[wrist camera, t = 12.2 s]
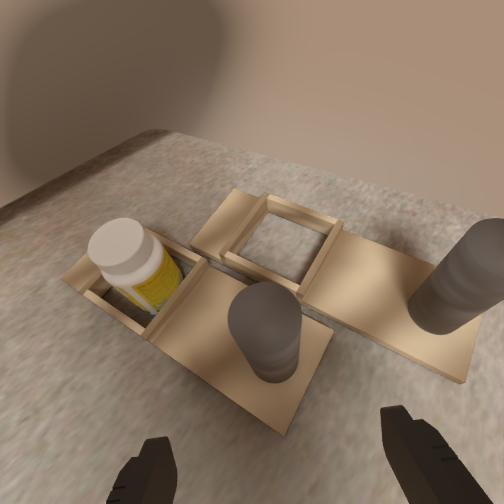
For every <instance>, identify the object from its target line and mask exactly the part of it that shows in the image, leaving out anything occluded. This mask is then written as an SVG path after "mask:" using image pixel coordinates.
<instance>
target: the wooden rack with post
mask: <svg viewBox="0 0 504 504" xmlns="http://www.w3.org/2000/svg"><path fill="white" fill-rule="evenodd" d="M144 229H145V230H146V231H147V232H148V233H149V234H152V235H153V236H155V237H156V238H157V239H158V240H159V241H160V242H161V243H162V245H163V246H164V248H165V249H166V251H167V252H168V254H170V255H172V256H173V257H175V258H177V259H179V260H181V261H183V262H185V263H187V264H188V265H190V266H192V267H193V268H192V270H191V271H190V272H189V274H188V275H187V276H186V277H185V279H184V280H183V281H182V283H181V284H180V285H179V286H178V288H177V289H176V290H175V291H174V293H173V294H172V295H171V297H170V298H169V299H168V300H167V302H166V303H165V304H164V306H163V307H162V308H161V309H160V311H159V312H158V313H157V315H156V316H155V317H154V318H153V320H152V321H151V322H150V324H149V325H148V326H147V327H146V329H145V328H144V327H142V326H141V325H139V324H138V323H136V322H135V321H133V320H132V319H131V318H129V317H128V316H126V315H125V314H123V313H122V312H120V311H119V310H117V309H116V308H115V307H113V306H112V305H110V304H109V303H107V302H106V301H104V300H103V299H101V297H102V296H103V295H104V294H105V293H106V292H107V291H108V289H109V288H110V287H111V286H112V285H110V284H109V283H108V282H107V281H106V280H105V279H104V277H103V275H102V273H101V269H100V268H99V267H98V266H97V265H96V264H94V263H93V262H92V261H91V259H90V258H89V255H88V251H87V252H86V253H85V254H84V255H83V256H82V257H81V258H80V259H79V260H78V261H77V262H76V263H75V264H74V265H73V266H72V267H71V268H70V269H69V270H68V271H67V272H66V273H65V274H64V275H63V276H62V277H61V278H60V279H62V280H63V281H64V282H66V283H67V284H69V285H70V286H71V287H73V288H74V289H76V290H77V291H78V292H79V293H81V294H82V295H84V296H85V297H87V298H88V299H89V300H91V301H92V302H94V303H95V304H96V305H98V306H99V307H101V308H102V309H104V310H105V311H106V312H108V313H109V314H111V315H112V316H113V317H115V318H116V319H118V320H119V321H120V322H122V323H123V324H125V325H126V326H128V327H129V328H130V329H132V330H133V331H135V332H136V333H137V334H139V335H140V336H142V337H143V338H145V339H146V340H147V341H149V342H151V343H152V344H154V345H155V346H156V347H158V348H159V349H161V350H162V351H163V352H165V353H166V354H168V355H169V356H171V357H172V358H173V359H175V360H176V361H178V362H179V363H180V364H182V365H183V366H185V367H186V368H188V369H189V370H190V371H192V372H193V373H195V374H196V375H197V376H199V377H200V378H202V379H203V380H204V381H206V382H207V383H209V384H210V385H212V386H213V387H214V388H216V389H217V390H219V391H220V392H221V393H223V394H224V395H226V396H227V397H229V398H230V399H231V400H233V401H234V402H236V403H237V404H238V405H240V406H241V407H243V408H244V409H246V410H247V411H248V412H250V413H251V414H253V415H254V416H255V417H257V418H258V419H260V420H261V421H263V422H264V423H265V424H267V425H268V426H270V427H271V428H272V429H274V430H275V431H277V432H278V433H279V434H281V435H282V436H285V434H286V431H287V429H288V427H289V425H290V423H291V421H292V419H293V417H294V415H295V413H296V411H297V408H298V406H299V404H300V402H301V400H302V398H303V396H304V394H305V392H306V390H307V387H308V385H309V383H310V381H311V379H312V377H313V375H314V373H315V371H316V369H317V366H318V364H319V362H320V360H321V358H322V356H323V354H324V352H325V350H326V348H327V345H328V343H329V341H330V339H331V337H332V335H333V333H334V330H332V329H330V328H328V327H326V326H324V325H322V324H321V323H319V322H317V321H315V320H313V319H311V318H309V317H307V316H305V315H303V314H302V311H301V307H300V304H299V302H298V300H297V299H296V297H295V296H294V295H293V293H291V292H290V291H289V290H288V289H287V288H285V287H283V286H281V285H279V284H276V283H271V282H259V283H255V284H252V285H249V286H248V285H246V284H244V283H242V282H240V281H238V280H236V279H234V278H232V277H230V276H228V275H226V274H225V273H223V272H221V271H219V270H217V269H215V268H213V267H211V266H210V264H209V262H208V260H207V259H205V258H203V257H201V256H199V255H197V254H196V253H194V252H192V251H190V250H188V249H186V248H184V247H182V246H180V245H178V244H176V243H174V242H172V241H170V240H168V239H166V238H164V237H162V236H160V235H158V234H156V233H155V232H153V231H151V230H149V229H147V228H145V227H144Z"/></svg>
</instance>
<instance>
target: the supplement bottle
mask: <svg viewBox="0 0 504 504" xmlns="http://www.w3.org/2000/svg"><path fill="white" fill-rule="evenodd" d="M88 255H89V258H90V259H91V261H92V262H93V263H94V264H96V265H97V266H98V267H99V268H100V269H101V273H102V275H103V277H104V279H105V280H106V281H107V282H108V283H109V284H110V285H112V286H113V287H114V288H115V289H117V290H118V291H119V292H120V293H121V294H123V295H124V296H125V297H126V298H127V299H129V300H130V301H131V302H132V303H134V304H135V305H136V306H137V307H139V308H140V309H141V310H142V311H144V312H146V313H148V314H152V315H157V313H158V312H159V311H160V309H161V308H162V307H163V306H164V304H165V303H166V302H167V300H168V299H169V298H170V297H171V295H172V294H173V293H174V291H175V290H176V289H177V288H178V286H179V285H180V284H181V283H182V281H183V280H184V279H185V277H184V275H183V274H182V272H181V271H180V270H179V268H178V267H177V265H176V264H175V262H174V261H173V259H172V258H171V256H170V255H169V254H168V252H167V251H166V249H165V248H164V246H163V245H162V243H161V242H160V241H159V240H158V239H157V238H156V237H155V236H153V235H152V234H149V233H148V232H147V231H146V230H145V229H144V227H143V226H142V225H141V224H140V223H139V222H138V221H136V220H134V219H131V218H118V219H114V220H111V221H109V222H107V223H105V224H104V225H102V226H101V227H100V228H99V229H97V230H96V231H95V233H94V234H93V235H92V237H91V238H90V241H89V244H88Z"/></svg>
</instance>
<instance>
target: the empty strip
mask: <svg viewBox="0 0 504 504" xmlns="http://www.w3.org/2000/svg"><path fill="white" fill-rule="evenodd" d="M268 212H271V213H273V214H276V215H278V216H281V217H283V218H286V219H288V220H291V221H293V222H296V223H298V224H301V225H303V226H306V227H308V228H311V229H313V230H316V231H318V232H321V233H323V234H326V235H328V237H327V239H326V241H325V242H324V244H323V246H322V248H321V249H320V251H319V253H318V255H317V256H316V258H315V260H314V262H313V263H312V265H311V267H310V269H309V270H308V272H307V274H306V276H305V277H304V279H303V281H302V283H301V284H300V285H298V284H296V283H293V282H291V281H289V280H287V279H285V278H283V277H281V276H279V275H277V274H275V273H273V272H271V271H269V270H267V269H265V268H262V267H260V266H258V265H256V264H254V263H252V262H250V261H248V260H246V259H244V258H242V257H240V256H238V255H237V254H238V253H239V252H240V250H241V249H242V247H243V246H244V245H245V243H246V242H247V240H248V239H249V238H250V236H251V235H252V233H253V232H254V231H255V229H256V228H257V226H258V225H259V224H260V222H261V221H262V220H263V218H264V217H265V215H266V214H267V213H268ZM343 224H344V222H343V221H340V220H338V219H335V218H332V217H330V216H327V215H324V214H322V213H319V212H316V211H314V210H311V209H308V208H306V207H303V206H300V205H298V204H295V203H292V202H290V201H287V200H284V199H281V198H279V197H276V196H273V195H271V194H268V193H265V192H264V194H263V195H262V196H261V198H258V197H255V196H253V195H250V194H248V193H245V192H242V191H240V190H237V189H235V188H234V189H233V191H232V192H231V193H230V194H229V195H228V197H227V198H226V199H225V200H224V201H223V203H222V204H221V205H220V206H219V208H218V209H217V210H216V211H215V212H214V214H213V215H212V216H211V217H210V218H209V220H208V221H207V222H206V223H205V225H204V226H203V227H202V228H201V229H200V231H199V232H198V233H197V234H196V236H195V237H194V238H193V239H192V240H191V242H190V243H189V245H190V247H191V248H192V249H194V250H196V251H198V252H200V253H202V254H204V255H206V256H208V257H210V258H212V259H213V260H215V261H217V262H219V263H221V264H223V265H225V266H227V267H229V268H231V269H233V270H235V271H237V272H239V273H241V274H243V275H245V276H247V277H249V278H251V279H253V280H255V281H257V282H271V283H276V284H279V285H281V286H283V287H285V288H287V289H288V290H289V291H290V292H291V293H293V295H294V296H295V297H296V299H297V300H298V302H299V303H300V304H302V305H304V306H306V307H308V308H310V309H312V310H314V311H316V312H318V313H320V314H322V315H324V316H326V317H328V318H330V319H332V320H334V321H336V322H338V323H340V324H341V325H343V326H345V327H347V328H349V329H351V330H353V331H355V332H357V333H359V334H361V335H363V336H365V337H367V338H369V339H371V340H373V341H375V342H377V343H379V344H381V345H383V346H385V347H387V348H389V349H391V350H393V351H395V352H397V353H399V354H401V355H403V356H405V357H406V358H408V359H410V360H412V361H414V362H416V363H418V364H420V365H422V366H424V367H426V368H428V369H430V370H432V371H434V372H436V373H438V374H440V375H442V376H444V377H446V378H448V379H450V380H452V381H454V382H456V383H458V384H462V383H465V382H466V377H467V373H468V369H469V365H470V361H471V357H472V353H473V349H474V345H475V341H476V337H477V333H478V329H479V325H480V321H481V317H482V313H483V312H485V311H487V310H488V309H490V308H491V307H493V306H494V305H496V304H498V303H499V302H501V301H502V300H504V219H499V218H492V219H485V220H482V221H479V222H477V223H475V224H474V225H473V226H472V227H471V228H470V229H469V230H468V231H467V232H466V233H465V235H464V236H463V237H462V238H461V239H460V240H459V242H458V243H457V244H456V245H455V246H454V247H453V248H452V250H451V251H450V252H449V253H448V254H447V255H446V257H445V258H444V259H443V260H442V261H441V262H440V264H439V265H438V266H435V265H432V264H430V263H427V262H425V261H422V260H419V259H417V258H414V257H412V256H409V255H406V254H404V253H401V252H399V251H396V250H393V249H391V248H388V247H386V246H383V245H380V244H378V243H375V242H372V241H370V240H367V239H365V238H362V237H359V236H357V235H354V234H352V233H349V232H346V231H344V230H342V228H343Z"/></svg>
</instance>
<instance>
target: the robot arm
mask: <svg viewBox="0 0 504 504" xmlns="http://www.w3.org/2000/svg"><path fill="white" fill-rule="evenodd" d="M380 414H381V428H382V441H383V447H384V451H385V454H386V457H387V459H388V462H389V464H390V466H391V468H392V470H393V472H394V474H395V476H396V478H397V480H398V482H399V484H400V486H401V488H402V490H403V492H404V494H405V496H406V498H407V500H408V502H409V504H493V502H492V501H491V500H490V499H489V497H488V496H487V495H486V493H485V492H484V491H483V489H482V488H481V487H480V485H479V484H478V483H477V481H476V480H475V479H474V478H473V476H472V475H471V474H470V472H469V471H468V470H467V468H466V467H465V466H464V464H463V463H462V462H461V460H459V459H458V457H457V455H456V454H455V453H454V451H453V450H452V449H451V447H449V445H448V443H447V442H446V441H445V439H444V438H443V437H442V436H441V434H440V433H439V432H438V430H436V429H435V428H434V427H432V426H431V425H430V424H428V423H427V422H426V421H424V420H423V419H419V420H413V419H412V417H411V416H410V414H409V413H408V412H407V410H406V409H405V407H404V406H402V405H398V406H390V407H383V408H381V409H380ZM176 487H177V467H176V464H175V460H174V456H173V452H172V449H171V445H170V441H169V438H168V437H167V436H165V437H158V438H151V439H146V441H145V442H144V444H143V447H142V449H141V451H140V454H139V456H138V457H132V458H131V459H130V460H129V461H128V462H127V464H126V465H125V466H124V467H123V468H122V470H121V471H120V472H119V475H118V477H117V479H116V481H115V483H114V485H113V489H112V491H111V492H110V494H109V496H108V499H107V501H106V504H173V500H174V496H175V492H176Z"/></svg>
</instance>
